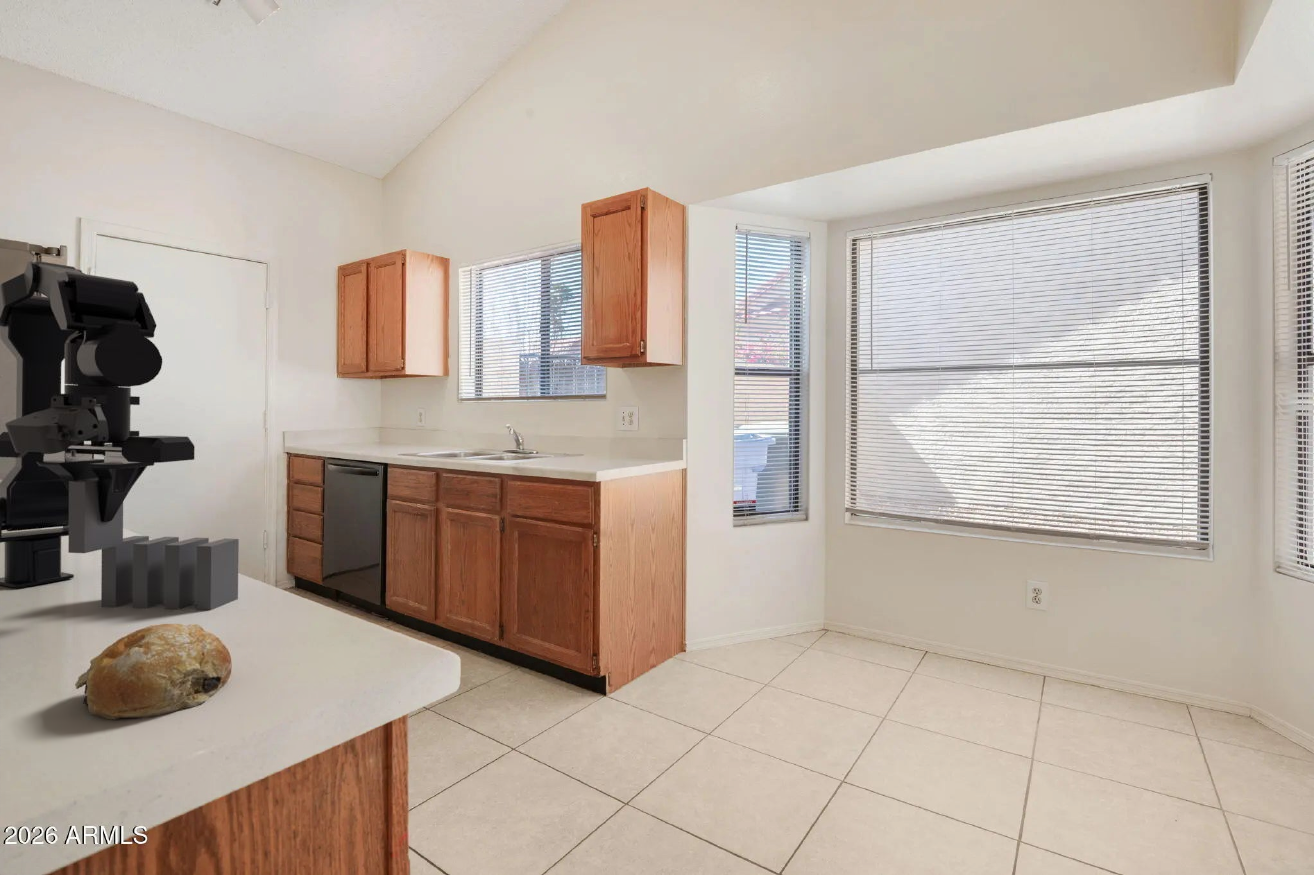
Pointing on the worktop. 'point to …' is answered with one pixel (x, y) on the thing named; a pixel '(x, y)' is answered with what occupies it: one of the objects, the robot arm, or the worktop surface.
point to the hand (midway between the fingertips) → (97, 521)
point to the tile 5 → (217, 573)
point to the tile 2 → (118, 573)
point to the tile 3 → (149, 572)
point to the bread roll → (156, 672)
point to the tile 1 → (90, 520)
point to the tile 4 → (181, 572)
